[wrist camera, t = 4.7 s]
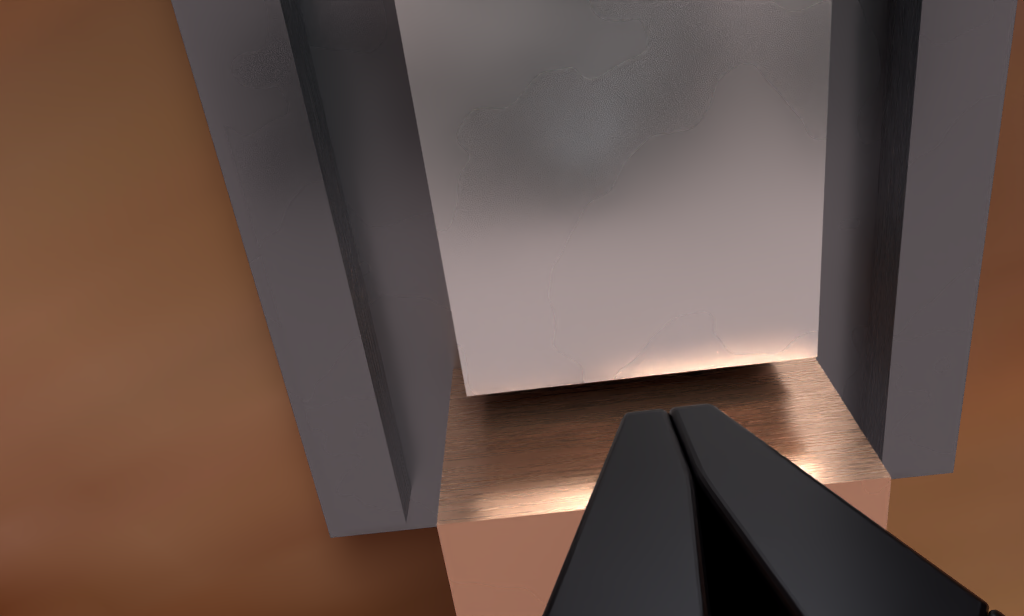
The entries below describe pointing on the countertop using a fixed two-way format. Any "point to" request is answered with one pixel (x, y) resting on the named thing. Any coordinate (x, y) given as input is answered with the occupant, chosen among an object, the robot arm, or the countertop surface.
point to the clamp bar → (623, 181)
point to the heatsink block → (599, 405)
